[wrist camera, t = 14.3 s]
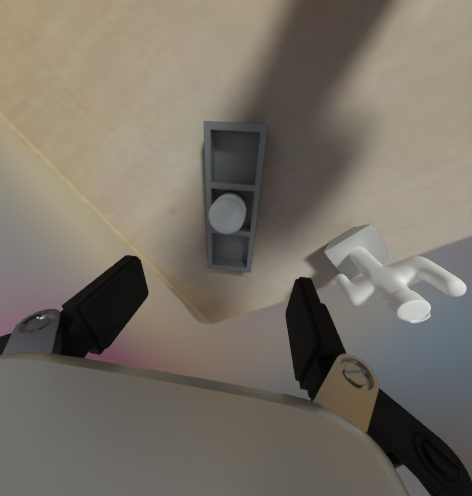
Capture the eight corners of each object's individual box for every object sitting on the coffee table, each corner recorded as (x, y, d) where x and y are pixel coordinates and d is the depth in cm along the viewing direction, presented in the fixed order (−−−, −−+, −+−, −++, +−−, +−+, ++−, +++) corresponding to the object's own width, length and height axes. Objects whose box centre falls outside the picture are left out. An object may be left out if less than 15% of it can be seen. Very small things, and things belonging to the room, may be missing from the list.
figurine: (311, 245, 31) (350, 312, 18) (365, 210, 27) (465, 265, 14) (332, 271, 33) (381, 349, 20) (385, 242, 29) (489, 315, 16)
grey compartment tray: (210, 124, 24) (203, 121, 21) (266, 127, 24) (268, 124, 21) (212, 258, 35) (207, 267, 32) (251, 262, 34) (250, 272, 31)
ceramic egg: (216, 189, 27) (203, 200, 21) (248, 191, 27) (244, 204, 20) (216, 219, 30) (204, 238, 23) (246, 222, 29) (241, 242, 23)
